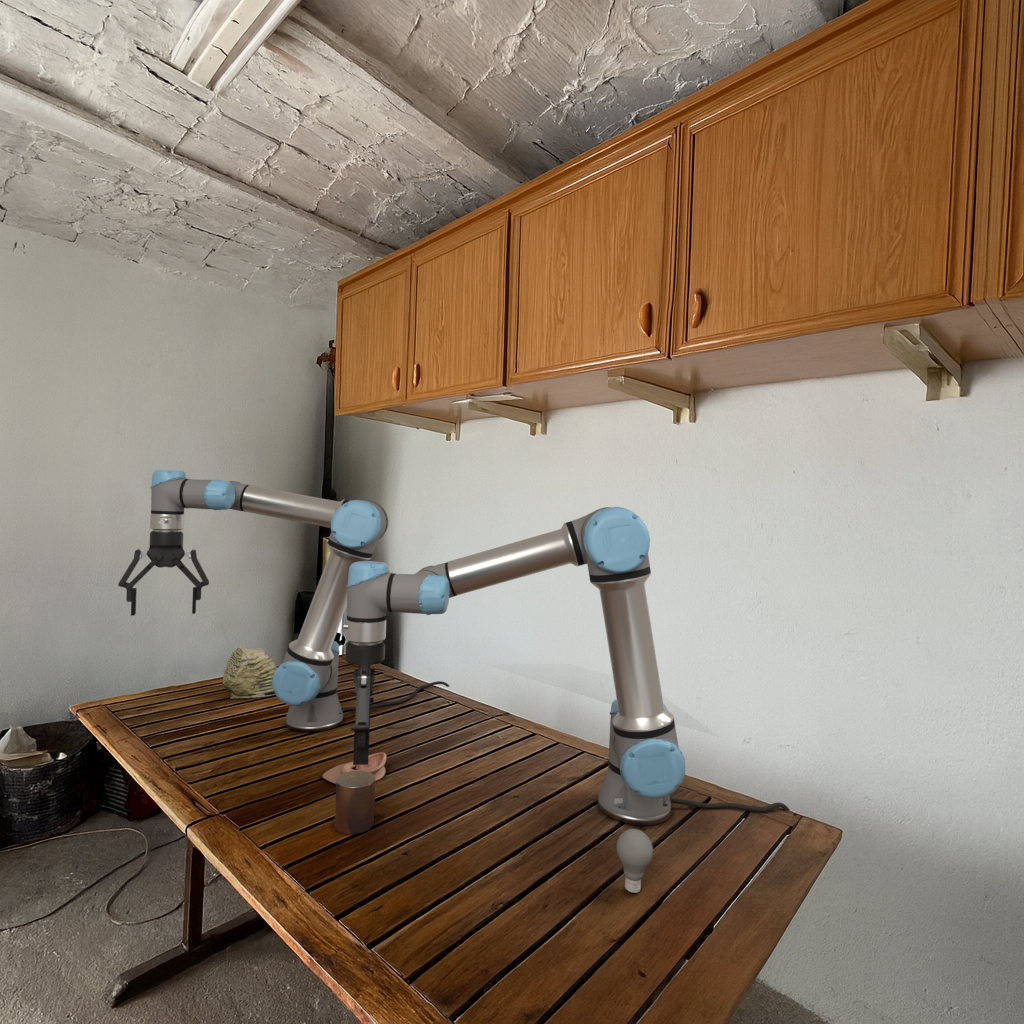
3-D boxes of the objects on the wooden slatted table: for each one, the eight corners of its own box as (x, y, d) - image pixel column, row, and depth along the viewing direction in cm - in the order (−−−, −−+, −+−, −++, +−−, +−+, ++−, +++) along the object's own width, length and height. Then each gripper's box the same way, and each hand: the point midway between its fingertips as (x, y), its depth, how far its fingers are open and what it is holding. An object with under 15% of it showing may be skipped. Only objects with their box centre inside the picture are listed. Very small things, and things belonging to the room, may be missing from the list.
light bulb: (610, 879, 108) (613, 822, 108) (644, 879, 109) (647, 822, 109) (619, 902, 102) (622, 840, 102) (655, 901, 103) (658, 840, 103)
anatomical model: (316, 763, 140) (340, 744, 151) (315, 781, 140) (339, 761, 151) (372, 771, 137) (392, 751, 149) (371, 789, 138) (391, 768, 149)
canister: (361, 811, 129) (362, 767, 128) (381, 825, 123) (382, 780, 123) (327, 822, 123) (329, 777, 123) (346, 838, 118) (348, 791, 118)
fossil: (218, 695, 195) (220, 647, 195) (278, 685, 208) (279, 640, 207) (228, 703, 189) (230, 653, 188) (289, 692, 201) (290, 645, 201)
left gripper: (106, 530, 153) (104, 618, 153) (220, 532, 163) (217, 614, 163) (111, 528, 159) (109, 612, 160) (220, 530, 170) (218, 609, 170)
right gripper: (348, 628, 135) (345, 727, 135) (342, 657, 110) (337, 778, 111) (384, 627, 136) (381, 725, 137) (385, 657, 112) (381, 776, 112)
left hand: (164, 613), depth 162 cm, fingers open, 13 cm apart
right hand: (361, 749), depth 124 cm, fingers open, 13 cm apart
